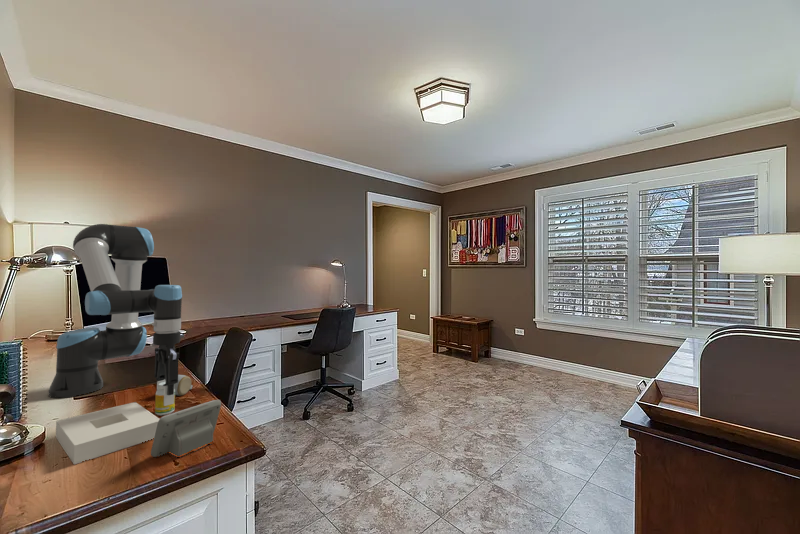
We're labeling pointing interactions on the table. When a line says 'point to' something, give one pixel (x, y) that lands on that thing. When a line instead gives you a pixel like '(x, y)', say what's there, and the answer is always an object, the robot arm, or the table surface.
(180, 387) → the ceramic mug
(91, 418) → the holder block
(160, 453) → the digital clock
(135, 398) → the table surface
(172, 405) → the supplement bottle
